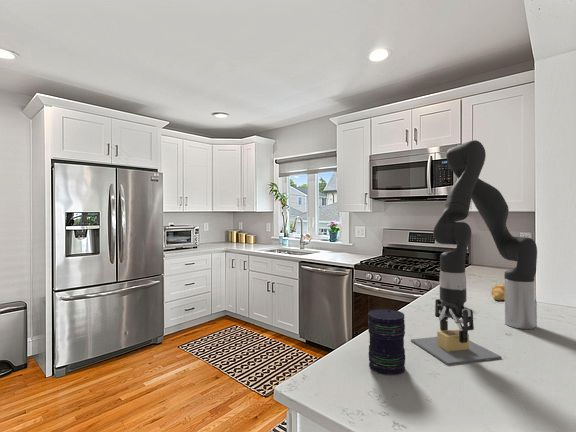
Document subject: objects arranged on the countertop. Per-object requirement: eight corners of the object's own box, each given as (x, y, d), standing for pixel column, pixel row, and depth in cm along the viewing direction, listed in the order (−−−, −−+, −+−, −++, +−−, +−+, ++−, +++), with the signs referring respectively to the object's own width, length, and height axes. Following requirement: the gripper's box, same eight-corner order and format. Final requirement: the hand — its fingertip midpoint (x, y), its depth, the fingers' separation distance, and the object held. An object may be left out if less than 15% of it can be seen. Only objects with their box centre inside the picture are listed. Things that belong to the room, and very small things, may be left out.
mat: (457, 336, 114) (457, 334, 114) (501, 358, 97) (501, 356, 97) (410, 341, 110) (410, 339, 110) (447, 365, 93) (447, 363, 93)
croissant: (501, 309, 156) (510, 296, 153) (481, 296, 163) (489, 283, 160) (516, 300, 170) (524, 288, 167) (496, 288, 177) (504, 276, 174)
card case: (437, 345, 105) (437, 331, 105) (458, 343, 107) (458, 329, 107) (447, 351, 101) (447, 336, 101) (469, 349, 102) (468, 334, 102)
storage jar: (400, 379, 85) (399, 321, 85) (363, 370, 91) (363, 315, 91) (409, 364, 94) (408, 311, 94) (374, 356, 99) (374, 306, 99)
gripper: (427, 281, 110) (428, 330, 110) (458, 291, 96) (459, 347, 96) (447, 280, 111) (448, 328, 111) (480, 290, 97) (481, 344, 97)
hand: (453, 337), depth 103 cm, fingers open, 8 cm apart
